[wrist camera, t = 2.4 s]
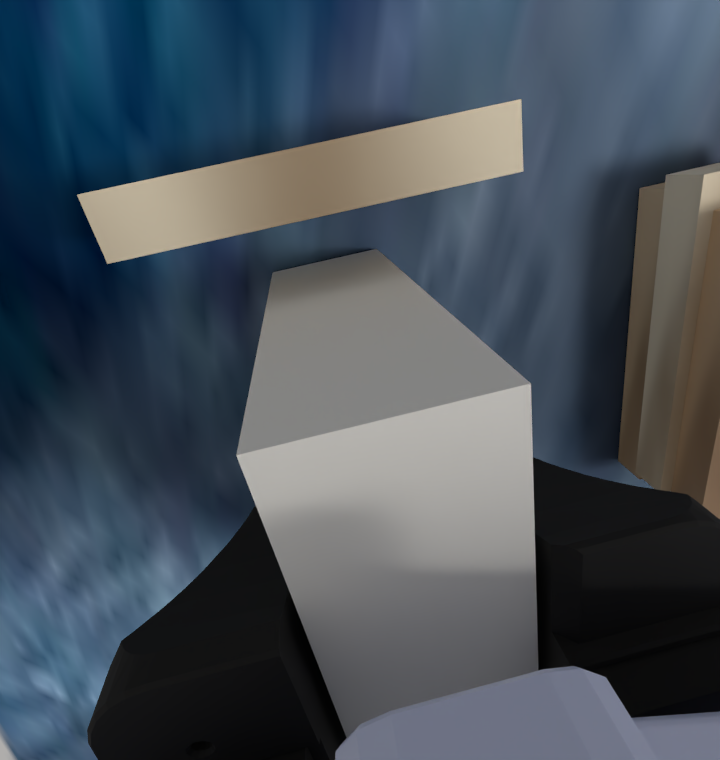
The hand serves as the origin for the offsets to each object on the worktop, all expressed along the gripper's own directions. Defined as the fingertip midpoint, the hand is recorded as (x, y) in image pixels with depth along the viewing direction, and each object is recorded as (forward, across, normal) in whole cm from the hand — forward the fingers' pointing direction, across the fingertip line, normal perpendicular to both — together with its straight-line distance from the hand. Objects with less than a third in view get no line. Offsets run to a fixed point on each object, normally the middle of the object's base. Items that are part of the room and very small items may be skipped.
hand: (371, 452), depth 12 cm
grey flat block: (+2, 0, 0) cm, 2 cm away
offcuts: (+3, -11, 0) cm, 11 cm away
